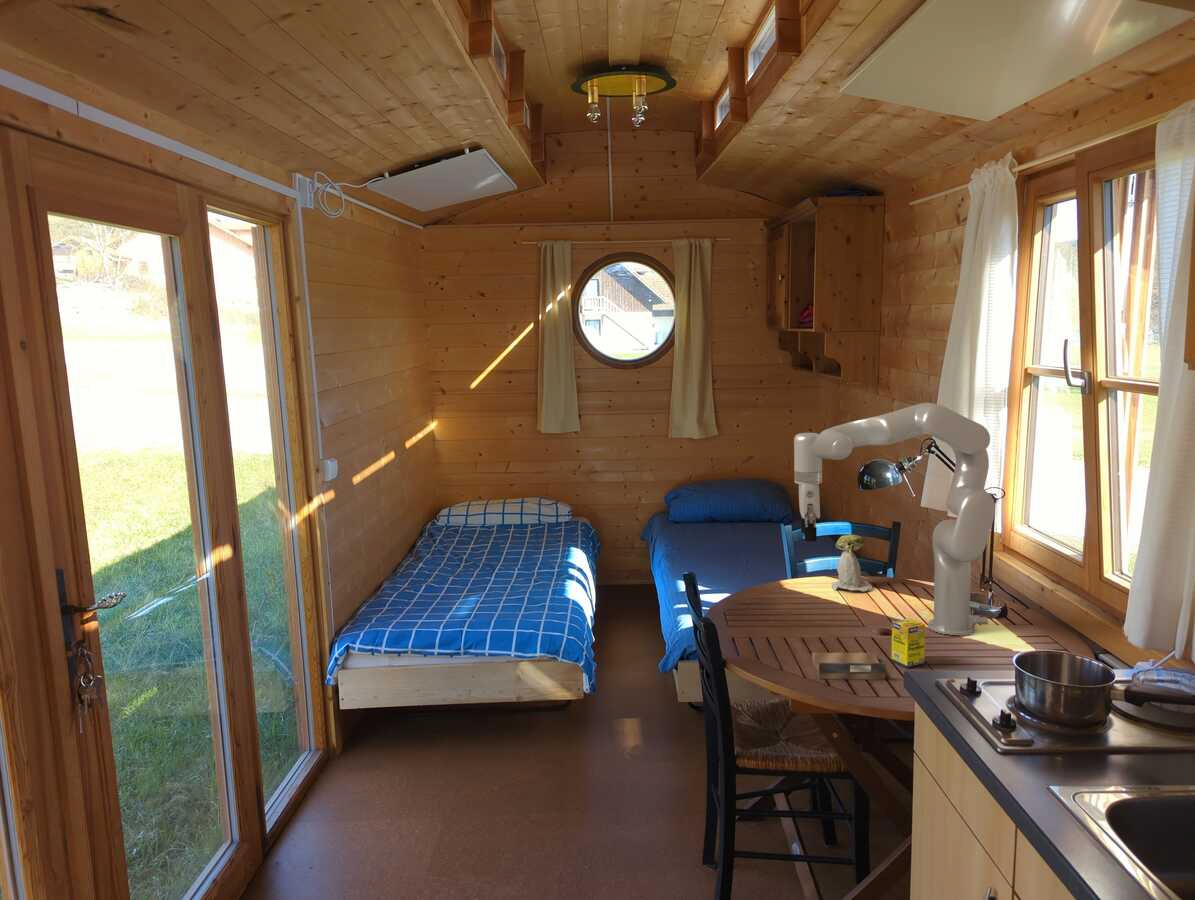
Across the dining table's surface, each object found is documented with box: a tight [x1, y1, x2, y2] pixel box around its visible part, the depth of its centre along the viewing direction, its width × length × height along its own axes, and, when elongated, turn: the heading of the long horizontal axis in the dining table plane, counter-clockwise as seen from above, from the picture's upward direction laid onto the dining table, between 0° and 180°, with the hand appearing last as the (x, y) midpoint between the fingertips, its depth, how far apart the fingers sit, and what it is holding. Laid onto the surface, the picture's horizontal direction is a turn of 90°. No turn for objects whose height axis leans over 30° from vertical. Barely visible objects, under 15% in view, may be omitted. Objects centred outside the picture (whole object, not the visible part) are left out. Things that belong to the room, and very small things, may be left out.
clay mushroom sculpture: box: [831, 533, 873, 593], centre depth 289 cm, size 12×13×18 cm
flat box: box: [811, 652, 886, 681], centre depth 223 cm, size 16×14×4 cm
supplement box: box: [891, 617, 926, 669], centre depth 224 cm, size 6×6×11 cm
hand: (808, 536), depth 245 cm, fingers open, 9 cm apart
